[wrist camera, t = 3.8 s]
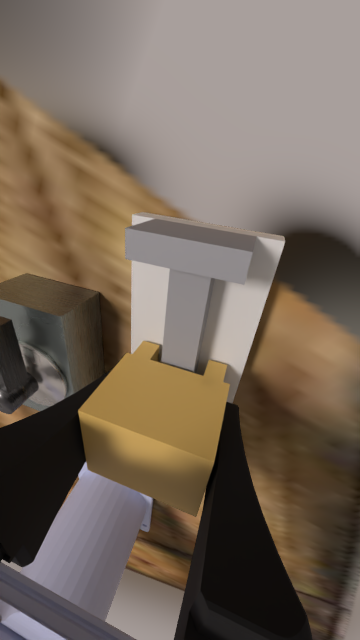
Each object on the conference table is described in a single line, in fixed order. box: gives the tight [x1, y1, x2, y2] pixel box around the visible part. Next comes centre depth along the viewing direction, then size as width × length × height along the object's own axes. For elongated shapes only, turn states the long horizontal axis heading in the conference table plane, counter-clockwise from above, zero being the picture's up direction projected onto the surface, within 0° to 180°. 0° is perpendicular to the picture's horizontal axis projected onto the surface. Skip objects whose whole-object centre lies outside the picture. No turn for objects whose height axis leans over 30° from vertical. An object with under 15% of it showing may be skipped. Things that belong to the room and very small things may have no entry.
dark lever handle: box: [0, 316, 39, 414], centre depth 12 cm, size 5×2×2 cm, turn 174°
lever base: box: [0, 274, 105, 411], centre depth 15 cm, size 8×5×3 cm, turn 173°
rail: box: [125, 212, 285, 403], centre depth 13 cm, size 15×6×3 cm, turn 173°
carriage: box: [78, 341, 230, 517], centre depth 11 cm, size 4×5×5 cm
